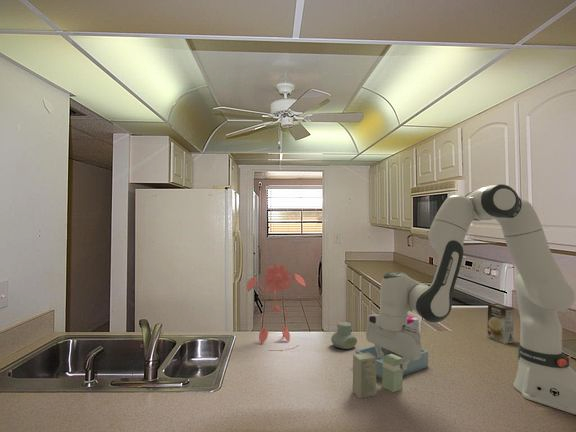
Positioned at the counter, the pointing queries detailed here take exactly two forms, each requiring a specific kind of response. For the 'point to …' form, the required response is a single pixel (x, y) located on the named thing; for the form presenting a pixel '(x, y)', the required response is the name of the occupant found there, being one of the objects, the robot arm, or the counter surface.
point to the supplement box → (412, 322)
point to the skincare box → (364, 374)
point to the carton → (392, 373)
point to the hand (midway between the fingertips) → (391, 363)
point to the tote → (411, 366)
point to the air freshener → (344, 336)
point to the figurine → (275, 281)
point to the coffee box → (500, 323)
